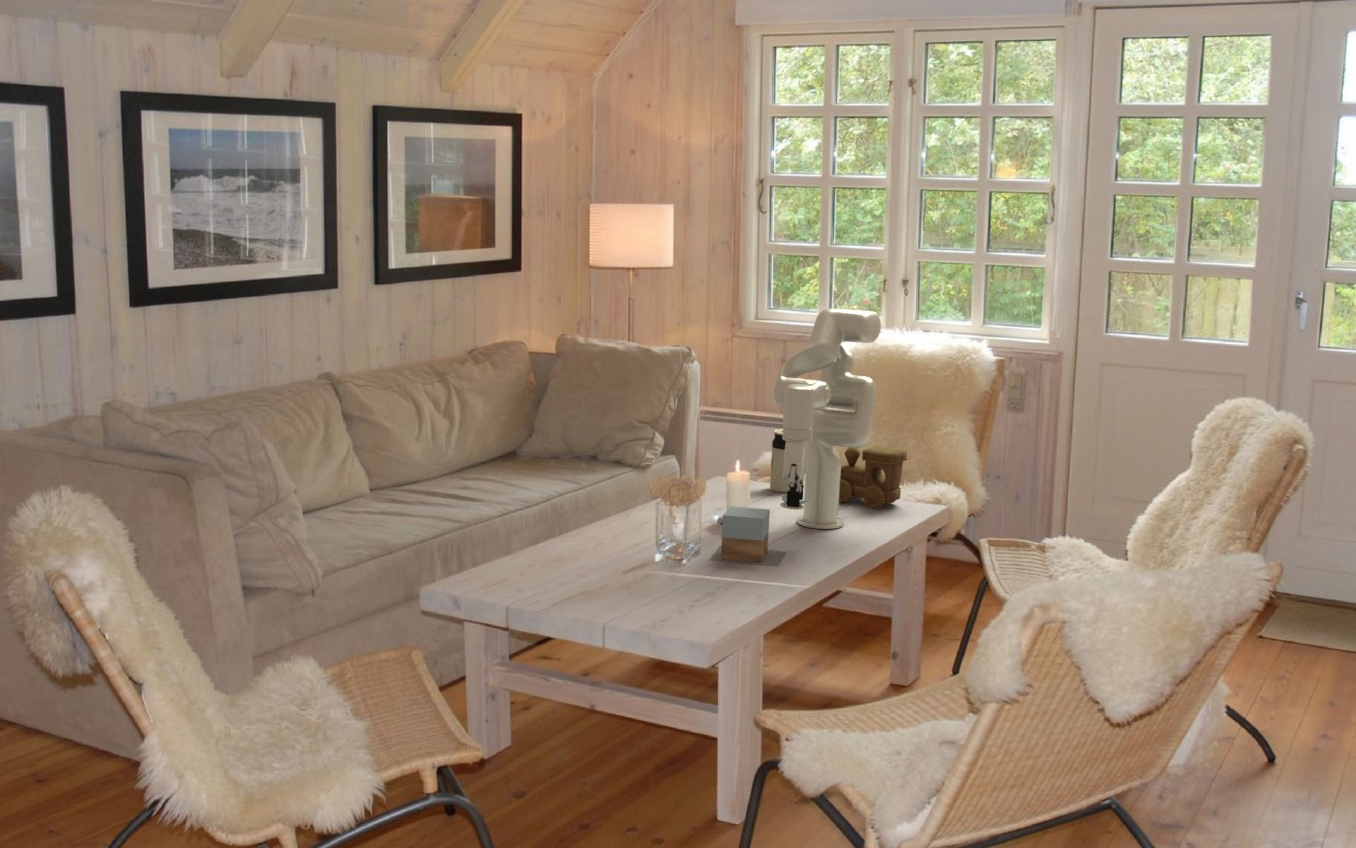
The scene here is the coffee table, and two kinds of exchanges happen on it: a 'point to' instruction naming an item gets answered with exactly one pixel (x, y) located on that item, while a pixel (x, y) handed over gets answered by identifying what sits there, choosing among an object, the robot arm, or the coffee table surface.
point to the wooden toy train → (872, 476)
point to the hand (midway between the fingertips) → (794, 502)
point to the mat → (769, 560)
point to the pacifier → (790, 506)
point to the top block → (745, 523)
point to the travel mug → (778, 463)
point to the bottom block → (744, 549)
